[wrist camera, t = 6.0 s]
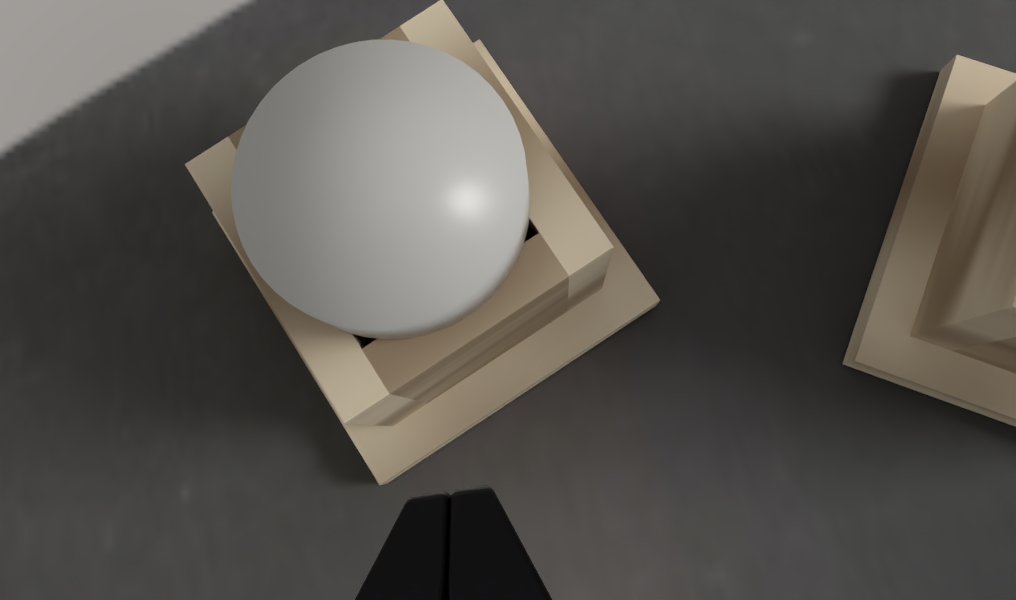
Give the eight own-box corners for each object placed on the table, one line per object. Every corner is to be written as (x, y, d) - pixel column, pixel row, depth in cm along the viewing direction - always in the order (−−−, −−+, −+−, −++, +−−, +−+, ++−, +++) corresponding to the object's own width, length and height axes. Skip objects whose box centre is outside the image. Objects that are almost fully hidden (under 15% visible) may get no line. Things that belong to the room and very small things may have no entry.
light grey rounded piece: (579, 281, 22) (586, 221, 16) (395, 402, 22) (329, 389, 16) (461, 108, 23) (423, -15, 17) (283, 223, 23) (177, 143, 16)
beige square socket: (655, 305, 23) (688, 260, 17) (387, 483, 23) (327, 500, 17) (482, 55, 24) (457, -67, 18) (226, 221, 24) (116, 150, 18)
